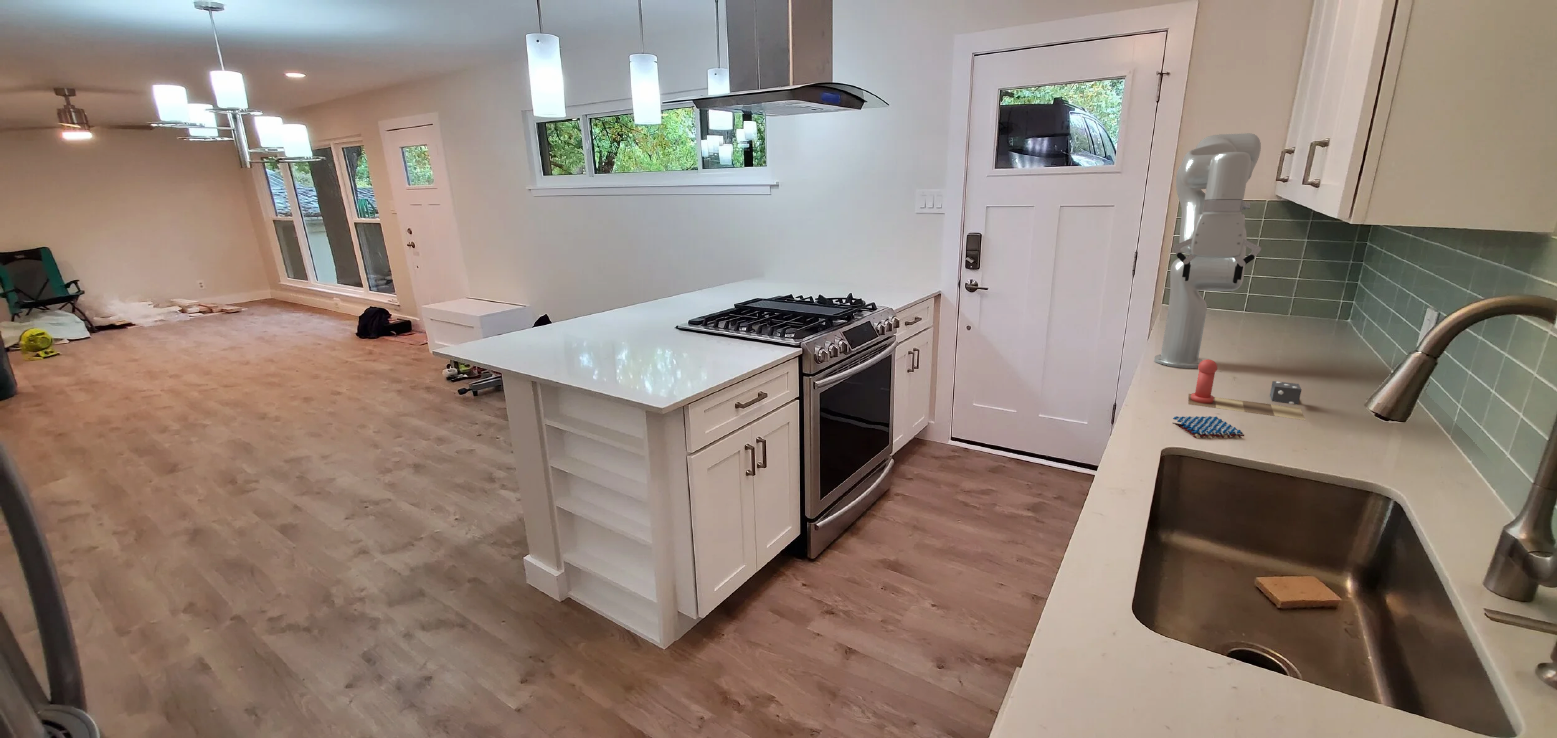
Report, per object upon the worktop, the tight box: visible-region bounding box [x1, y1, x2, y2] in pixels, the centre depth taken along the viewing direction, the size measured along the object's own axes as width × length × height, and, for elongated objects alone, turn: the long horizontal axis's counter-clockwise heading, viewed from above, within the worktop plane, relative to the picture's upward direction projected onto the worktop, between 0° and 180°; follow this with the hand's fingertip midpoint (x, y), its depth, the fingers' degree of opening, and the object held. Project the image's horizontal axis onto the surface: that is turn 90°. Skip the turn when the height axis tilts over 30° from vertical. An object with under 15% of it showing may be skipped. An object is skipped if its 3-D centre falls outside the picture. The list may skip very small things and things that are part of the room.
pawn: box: [1190, 358, 1218, 404], centre depth 152 cm, size 5×5×10 cm
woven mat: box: [1172, 415, 1245, 440], centre depth 138 cm, size 10×11×2 cm
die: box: [1269, 380, 1302, 405], centre depth 152 cm, size 5×5×5 cm
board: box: [1187, 393, 1306, 421], centre depth 149 cm, size 9×22×1 cm, turn 58°
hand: (1210, 281), depth 151 cm, fingers open, 9 cm apart
